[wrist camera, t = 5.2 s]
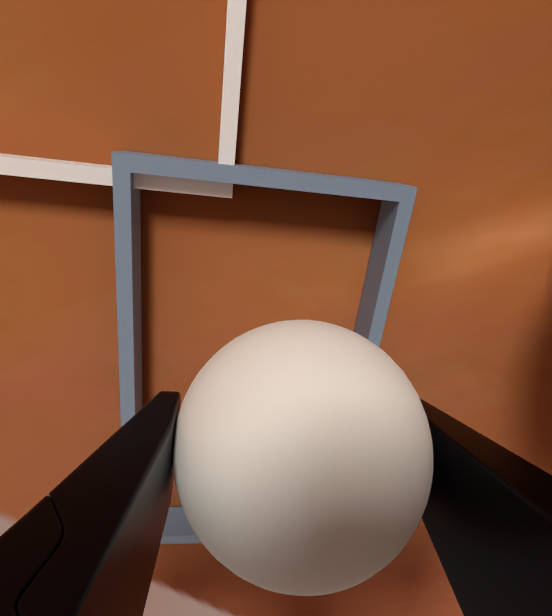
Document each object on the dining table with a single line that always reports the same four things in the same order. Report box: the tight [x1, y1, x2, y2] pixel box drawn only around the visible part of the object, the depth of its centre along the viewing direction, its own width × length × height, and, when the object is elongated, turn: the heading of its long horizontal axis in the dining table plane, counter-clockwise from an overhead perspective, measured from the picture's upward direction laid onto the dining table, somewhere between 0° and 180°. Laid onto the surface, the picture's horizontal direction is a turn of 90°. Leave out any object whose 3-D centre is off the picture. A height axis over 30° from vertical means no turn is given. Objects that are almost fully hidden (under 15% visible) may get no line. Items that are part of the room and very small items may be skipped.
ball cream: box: [173, 320, 433, 596], centre depth 8 cm, size 5×5×5 cm
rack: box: [112, 151, 418, 544], centre depth 19 cm, size 11×19×2 cm, turn 174°
